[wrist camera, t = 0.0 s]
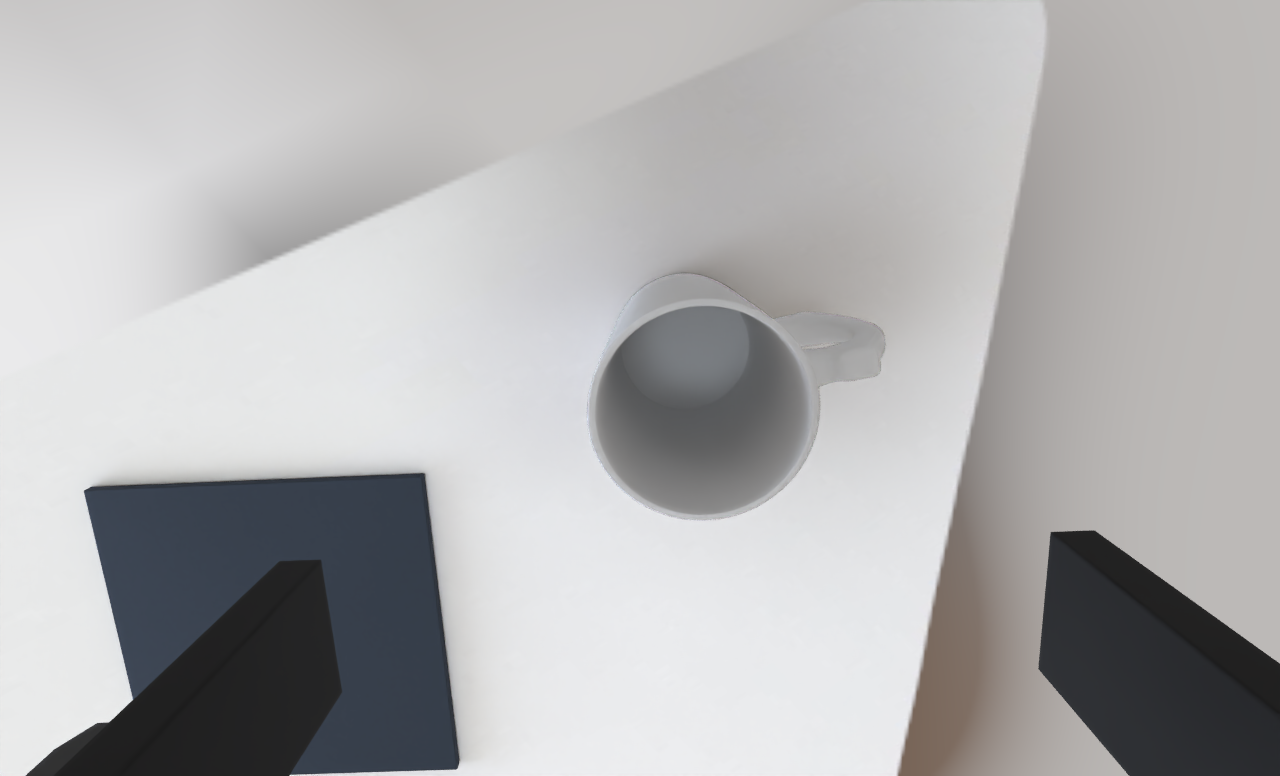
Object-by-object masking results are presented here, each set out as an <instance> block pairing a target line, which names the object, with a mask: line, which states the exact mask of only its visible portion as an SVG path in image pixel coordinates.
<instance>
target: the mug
mask: <svg viewBox="0 0 1280 776" xmlns="http://www.w3.org/2000/svg"><path fill="white" fill-rule="evenodd" d="M833 343H840V344H837V345H833V346H829V347H824V348H817V349H802V347H804V346H810V345H821V344H833ZM885 344H886V343H885V336H884V333H883V331H882V330H881V329H880V328H879V327H878V326H877V325H875V324H873V323H870V322H867V321H864V320H861V319H857V318H852V317H847V316H841V315H834V314H826V313H817V312H801V313H796V314H793V315H789V316H784V317H780V318H775V319H773V318H771V317H770V316H769V315H768V314H766V313H765V312H763V311H762V310H761V309H759V308H758V307H756V306H755V305H753V304H752V303H750V302H749V301H747V300H746V299H744V298H743V297H742V296H740V295H739V294H737V293H736V292H735V291H733V290H732V289H730V288H729V287H727V286H725V285H724V284H722V283H720V282H718V281H716V280H714V279H711V278H709V277H706V276H702V275H697V274H687V273H683V274H673V275H668V276H664V277H661V278H659V279H656V280H654V281H652V282H650V283H649V284H647V285H645V286H644V287H643V288H641V289H640V290H639V291H638V292H637V293H636V294H634V296H633V297H632V298H631V299H630V300H629V301H628V303H627V304H626V306H625V307H624V309H623V311H622V312H621V314H620V316H619V317H618V319H617V321H616V324H615V326H614V329H613V331H612V333H611V336H610V338H609V340H608V342H607V344H606V347H605V349H604V351H603V353H602V356H601V358H600V361H599V363H598V366H597V368H596V371H595V373H594V376H593V379H592V382H591V386H590V390H589V396H588V404H587V422H588V430H589V436H590V440H591V443H592V446H593V449H594V451H595V454H596V456H597V458H598V460H599V462H600V463H601V465H602V467H603V468H604V470H605V471H606V473H607V474H608V475H609V477H610V478H611V479H612V480H613V482H614V483H615V484H616V485H617V486H618V487H619V488H620V489H621V490H622V491H624V492H625V493H626V494H627V495H628V496H630V497H631V498H632V499H634V500H635V501H637V502H638V503H640V504H642V505H643V506H645V507H647V508H649V509H651V510H653V511H656V512H658V513H661V514H664V515H667V516H671V517H675V518H680V519H686V520H716V519H723V518H728V517H732V516H735V515H739V514H742V513H744V512H747V511H749V510H751V509H754V508H756V507H758V506H760V505H761V504H763V503H765V502H766V501H768V500H769V499H771V498H772V497H774V496H775V495H776V494H777V493H779V492H780V491H781V490H782V489H783V488H784V487H785V486H786V485H787V484H788V483H789V482H790V481H791V480H792V479H793V478H794V477H795V475H796V474H797V473H798V471H799V470H800V469H801V467H802V465H803V464H804V462H805V460H806V459H807V457H808V455H809V453H810V451H811V448H812V446H813V443H814V440H815V437H816V434H817V429H818V424H819V417H820V394H819V387H820V386H823V385H826V384H828V383H832V382H837V381H855V380H860V379H865V378H870V377H875V376H877V375H878V374H879V373H880V371H881V361H880V360H881V358H882V356H883V354H884V351H885Z"/></svg>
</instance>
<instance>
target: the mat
mask: <svg viewBox="0 0 1280 776" xmlns="http://www.w3.org/2000/svg"><path fill="white" fill-rule="evenodd" d="M84 494H85V498H86V502H87V506H88V510H89V515H90V519H91V523H92V527H93V532H94V536H95V540H96V544H97V548H98V553H99V557H100V561H101V565H102V570H103V574H104V578H105V582H106V587H107V591H108V595H109V599H110V603H111V608H112V612H113V616H114V620H115V625H116V629H117V633H118V637H119V641H120V646H121V650H122V654H123V658H124V663H125V667H126V671H127V675H128V680H129V684H130V688H131V692H132V696H133V700H134V699H135V698H136V697H137V696H138V695H139V694H140V693H141V692H142V691H143V690H144V689H145V688H146V687H147V686H148V685H149V684H150V683H151V682H153V681H154V680H155V679H156V678H157V677H158V676H159V675H160V674H161V673H162V672H163V671H164V670H165V669H166V668H167V667H168V666H169V665H170V664H171V663H173V662H174V661H175V660H176V659H177V658H178V657H179V656H180V655H181V654H182V653H183V652H184V651H185V650H186V649H187V648H188V647H189V646H190V645H192V644H193V643H194V642H195V641H196V640H197V639H198V638H199V637H200V636H201V635H202V634H203V633H204V632H205V631H206V630H207V629H208V628H209V627H210V626H212V625H213V624H214V623H215V622H216V621H217V620H218V619H219V618H220V617H221V616H222V615H223V614H224V613H225V612H226V611H227V610H228V609H229V608H230V607H232V606H233V605H234V604H235V603H236V602H237V601H238V600H239V599H240V598H241V597H242V596H243V595H244V594H245V593H246V592H247V591H248V590H249V589H251V588H252V587H253V586H254V585H255V584H256V583H257V582H258V581H259V580H260V579H261V578H262V577H263V576H264V575H265V574H266V573H267V572H268V571H269V570H271V569H272V568H273V567H274V566H275V565H276V564H277V563H278V562H279V561H294V560H320V559H321V562H322V569H323V575H324V581H325V587H326V593H327V600H328V606H329V612H330V618H331V625H332V631H333V637H334V643H335V650H336V656H337V662H338V668H339V674H340V681H341V687H342V693H341V695H340V697H339V698H338V700H337V701H336V703H335V704H334V706H333V708H332V709H331V711H330V712H329V714H328V715H327V717H326V719H325V720H324V722H323V723H322V725H321V726H320V728H319V730H318V731H317V733H316V734H315V736H314V737H313V739H312V741H311V742H310V744H309V745H308V747H307V748H306V750H305V752H304V753H303V755H302V756H301V758H300V759H299V761H298V763H297V764H296V766H295V767H294V769H293V770H292V772H291V774H290V775H294V774H326V773H357V772H389V771H420V770H452V769H457V768H458V765H459V757H458V748H457V740H456V732H455V724H454V715H453V707H452V699H451V691H450V683H449V674H448V666H447V658H446V650H445V641H444V633H443V625H442V617H441V609H440V600H439V592H438V584H437V576H436V567H435V559H434V551H433V543H432V535H431V526H430V518H429V510H428V502H427V493H426V485H425V477H424V474H402V475H377V476H353V477H328V478H304V479H279V480H254V481H230V482H205V483H181V484H156V485H131V486H107V487H90V488H88V489H86V490H84Z"/></svg>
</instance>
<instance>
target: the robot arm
mask: <svg viewBox="0 0 1280 776" xmlns="http://www.w3.org/2000/svg"><path fill="white" fill-rule="evenodd" d="M1039 670H1040V671H1041V672H1042V674H1043V675H1044V676H1045V677H1046V678H1047V679H1048V681H1049V682H1050V683H1051V684H1052V685H1053V687H1054V688H1055V689H1056V690H1057V691H1058V692H1059V694H1060V695H1061V696H1062V697H1063V698H1064V699H1065V701H1066V702H1067V703H1068V704H1069V705H1070V707H1071V708H1072V709H1073V710H1074V711H1075V712H1076V714H1077V715H1078V716H1079V717H1080V718H1081V719H1082V721H1083V722H1084V723H1085V724H1086V725H1087V727H1088V728H1089V729H1090V730H1091V731H1092V732H1093V734H1094V735H1095V736H1096V737H1097V738H1098V740H1099V741H1100V742H1101V743H1102V744H1103V745H1104V747H1105V748H1106V749H1107V750H1108V751H1109V753H1110V754H1111V755H1112V756H1113V757H1114V758H1115V760H1116V761H1117V762H1118V763H1119V764H1120V765H1121V767H1122V768H1123V769H1124V770H1125V771H1126V773H1127V774H1128V775H1129V776H1280V664H1279V663H1278V662H1277V661H1275V660H1274V659H1272V658H1271V657H1270V656H1268V655H1267V654H1266V653H1264V652H1263V651H1261V650H1260V649H1258V648H1257V647H1256V646H1254V645H1253V644H1252V643H1250V642H1249V641H1247V640H1246V639H1245V638H1243V637H1242V636H1240V635H1239V634H1238V633H1236V632H1235V631H1233V630H1232V629H1231V628H1229V627H1228V626H1227V625H1225V624H1224V623H1222V622H1221V621H1220V620H1218V619H1217V618H1215V617H1214V616H1213V615H1211V614H1210V613H1208V612H1207V611H1206V610H1204V609H1203V608H1202V607H1200V606H1199V605H1197V604H1196V603H1195V602H1193V601H1192V600H1190V599H1189V598H1188V597H1186V596H1185V595H1183V594H1182V593H1181V592H1179V591H1178V590H1176V589H1175V588H1174V587H1172V586H1171V585H1169V584H1168V583H1167V582H1165V581H1164V580H1163V579H1161V578H1160V577H1158V576H1157V575H1155V574H1154V573H1153V572H1151V571H1150V570H1149V569H1147V568H1146V567H1144V566H1143V565H1142V564H1140V563H1139V562H1137V561H1136V560H1135V559H1133V558H1132V557H1131V556H1129V555H1128V554H1126V553H1125V552H1124V551H1122V550H1121V549H1119V548H1118V547H1116V546H1115V545H1114V544H1112V543H1111V542H1110V541H1108V540H1107V539H1105V538H1104V537H1103V536H1101V535H1100V534H1099V533H1097V532H1096V531H1068V532H1051V536H1050V546H1049V559H1048V569H1047V580H1046V591H1045V603H1044V613H1043V624H1042V636H1041V646H1040V657H1039ZM341 693H342V687H341V681H340V674H339V668H338V662H337V656H336V650H335V643H334V637H333V631H332V625H331V618H330V612H329V606H328V600H327V593H326V587H325V581H324V575H323V569H322V562H321V559H320V560H294V561H279V562H278V563H277V564H276V565H275V566H274V567H273V568H272V569H271V570H269V571H268V572H267V573H266V574H265V575H264V576H263V577H262V578H261V579H260V580H259V581H258V582H257V583H256V584H255V585H254V586H253V587H252V588H251V589H249V590H248V591H247V592H246V593H245V594H244V595H243V596H242V597H241V598H240V599H239V600H238V601H237V602H236V603H235V604H234V605H233V606H232V607H230V608H229V609H228V610H227V611H226V612H225V613H224V614H223V615H222V616H221V617H220V618H219V619H218V620H217V621H216V622H215V623H214V624H213V625H212V626H210V627H209V628H208V629H207V630H206V631H205V632H204V633H203V634H202V635H201V636H200V637H199V638H198V639H197V640H196V641H195V642H194V643H193V644H192V645H190V646H189V647H188V648H187V649H186V650H185V651H184V652H183V653H182V654H181V655H180V656H179V657H178V658H177V659H176V660H175V661H174V662H173V663H171V664H170V665H169V666H168V667H167V668H166V669H165V670H164V671H163V672H162V673H161V674H160V675H159V676H158V677H157V678H156V679H155V680H154V681H153V682H151V683H150V684H149V685H148V686H147V687H146V688H145V689H144V690H143V691H142V692H141V693H140V694H139V695H138V696H137V697H136V698H135V699H134V700H133V701H131V702H130V703H129V704H128V705H127V706H126V707H125V708H124V709H123V710H122V711H121V712H120V713H119V714H118V715H117V716H116V717H115V718H114V719H112V720H111V721H110V722H109V723H97V724H95V725H94V726H92V727H90V728H89V729H87V730H85V731H84V732H82V733H80V734H79V735H77V736H76V737H74V738H72V739H71V740H69V741H67V742H66V743H64V744H63V745H61V746H59V747H58V748H56V749H54V750H53V751H52V752H51V753H50V754H49V755H48V756H47V757H46V758H45V759H43V760H42V761H41V762H40V763H39V764H38V765H37V766H36V767H35V768H33V769H32V770H31V771H30V772H29V773H28V774H27V775H26V776H289V775H290V774H291V772H292V770H293V769H294V767H295V766H296V764H297V763H298V761H299V759H300V758H301V756H302V755H303V753H304V752H305V750H306V748H307V747H308V745H309V744H310V742H311V741H312V739H313V737H314V736H315V734H316V733H317V731H318V730H319V728H320V726H321V725H322V723H323V722H324V720H325V719H326V717H327V715H328V714H329V712H330V711H331V709H332V708H333V706H334V704H335V703H336V701H337V700H338V698H339V697H340V695H341Z"/></svg>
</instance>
